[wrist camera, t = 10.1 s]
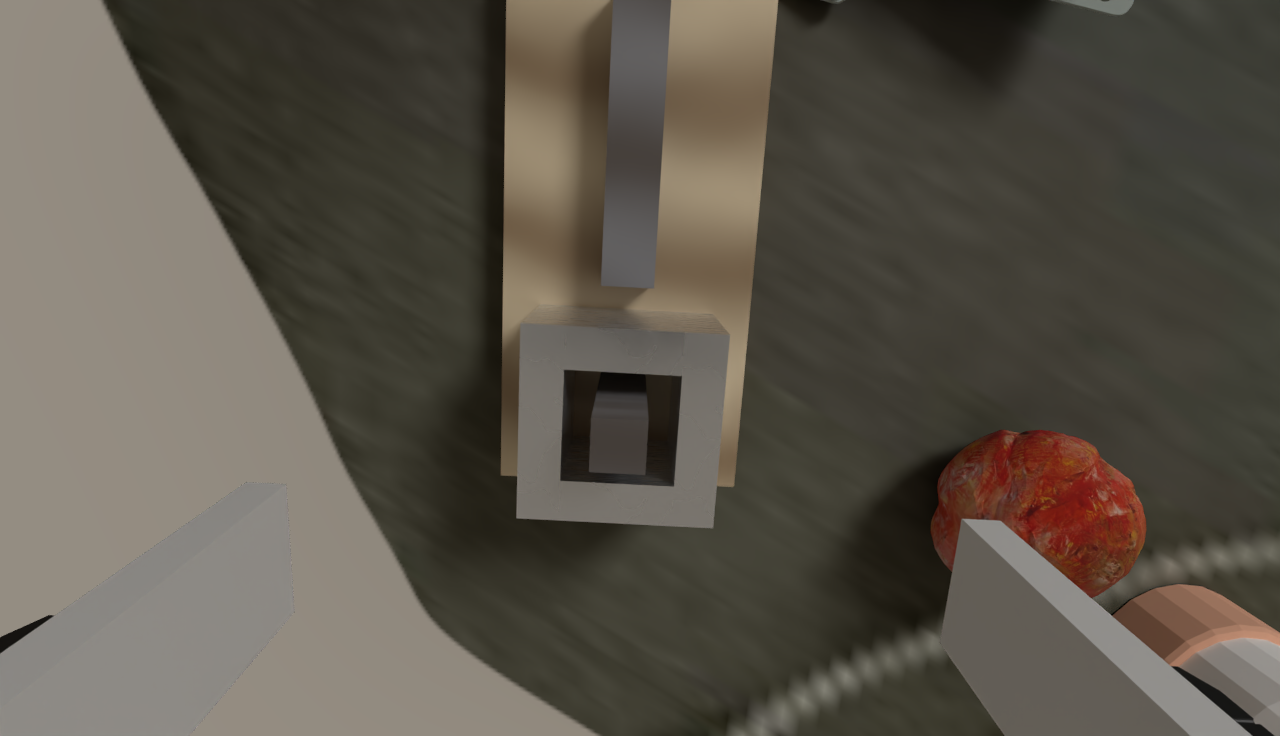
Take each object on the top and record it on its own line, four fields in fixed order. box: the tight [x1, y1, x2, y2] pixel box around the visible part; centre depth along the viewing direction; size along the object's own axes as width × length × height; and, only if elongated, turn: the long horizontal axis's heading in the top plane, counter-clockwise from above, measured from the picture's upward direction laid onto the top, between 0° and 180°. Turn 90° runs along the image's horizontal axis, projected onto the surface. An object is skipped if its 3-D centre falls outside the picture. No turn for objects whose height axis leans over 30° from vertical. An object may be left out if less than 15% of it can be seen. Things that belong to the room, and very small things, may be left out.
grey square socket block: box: [516, 304, 730, 528], centre depth 26 cm, size 7×7×5 cm
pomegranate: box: [931, 430, 1146, 598], centre depth 28 cm, size 7×7×10 cm
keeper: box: [501, 0, 778, 487], centre depth 24 cm, size 20×10×8 cm, turn 177°
